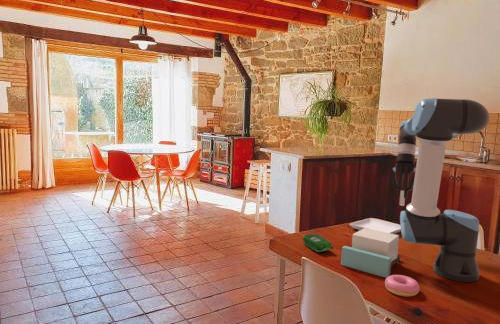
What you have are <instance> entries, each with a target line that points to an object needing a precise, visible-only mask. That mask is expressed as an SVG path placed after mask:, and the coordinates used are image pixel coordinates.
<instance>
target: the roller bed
mask: <svg viewBox="0 0 500 324" xmlns="http://www.w3.org/2000/svg"><path fill="white" fill-rule="evenodd" d="M400 261H401V255H399V254H397V258H396V259H395V260H394V261H392V262H391V268H390V269H392V268H393V266H395V265H396V264H398V262H400Z"/></svg>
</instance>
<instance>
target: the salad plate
mask: <svg viewBox="0 0 500 324" xmlns="http://www.w3.org/2000/svg"><path fill="white" fill-rule="evenodd" d="M349 226H350V227H352V228H353V229H356V230H357V231H360V230H362V229H363V228H367V229H372V230H377V231H381V232H386V233H390V234H395V235H396V234H397V233H401V226H400V224H399V223H396V222H395V223H394V222H391V221H387V220H383V219H377V218H373V217H369V218H364V219H362V220H361V219H360V220H357V221H354V222H351V223H349Z"/></svg>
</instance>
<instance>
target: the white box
mask: <svg viewBox="0 0 500 324" xmlns="http://www.w3.org/2000/svg"><path fill="white" fill-rule="evenodd" d="M399 239H400V235H399V234H396V233H395V234H390V233H386V232H381V231H377V230H372V229H367V228H363V229H362V230H360V231H359V230H357V231H356V232H354V233H353V234H352V238H351V240H352V241H351V247H352V248H356V249H360V250H364V251H368V252H372V253H375V254H379V255H383V256H387V257H391V262H392V261H394V260H395V259H396V258H397V255H399V254H398V253H399V251H398V250H399V241H400V240H399Z"/></svg>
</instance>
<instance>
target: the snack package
mask: <svg viewBox="0 0 500 324" xmlns="http://www.w3.org/2000/svg"><path fill="white" fill-rule="evenodd" d="M302 241H303V244H304V245H305V246H306V247H308V248H310V249H311V250H313V251H315V252H316V253H322V252H326V251H329V250H331V249H332V250H334V246H333V245H332V244H331V242H330V241H329V240H328V239H327V238H325V237H323V236H321V235H319V234H318V233H310V234H306V235H304V236H303V238H302Z"/></svg>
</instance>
